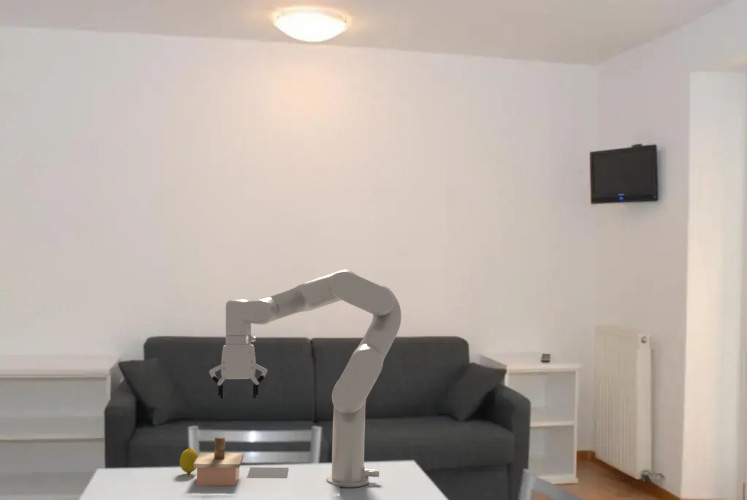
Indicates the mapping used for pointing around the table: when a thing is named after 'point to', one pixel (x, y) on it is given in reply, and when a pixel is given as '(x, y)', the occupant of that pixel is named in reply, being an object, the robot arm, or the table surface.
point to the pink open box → (217, 476)
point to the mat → (267, 472)
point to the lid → (219, 457)
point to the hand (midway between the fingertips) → (238, 397)
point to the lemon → (188, 460)
